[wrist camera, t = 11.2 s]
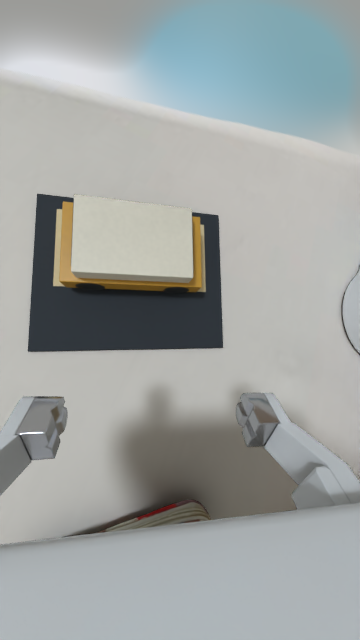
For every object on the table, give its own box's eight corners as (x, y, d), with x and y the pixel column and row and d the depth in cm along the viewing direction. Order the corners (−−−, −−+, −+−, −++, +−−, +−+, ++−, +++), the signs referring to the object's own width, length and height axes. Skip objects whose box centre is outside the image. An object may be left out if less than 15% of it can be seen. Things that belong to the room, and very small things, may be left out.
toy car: (194, 293, 26) (192, 231, 27) (208, 282, 21) (206, 206, 22) (67, 289, 23) (70, 218, 24) (49, 275, 18) (54, 187, 19)
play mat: (217, 216, 28) (218, 215, 28) (221, 347, 27) (223, 347, 26) (38, 195, 24) (37, 193, 24) (29, 351, 22) (27, 351, 22)
